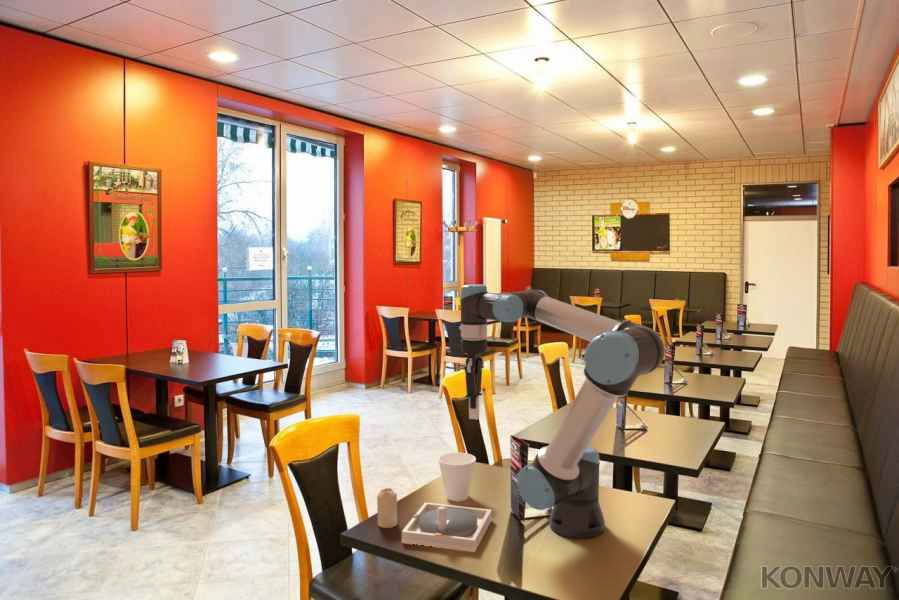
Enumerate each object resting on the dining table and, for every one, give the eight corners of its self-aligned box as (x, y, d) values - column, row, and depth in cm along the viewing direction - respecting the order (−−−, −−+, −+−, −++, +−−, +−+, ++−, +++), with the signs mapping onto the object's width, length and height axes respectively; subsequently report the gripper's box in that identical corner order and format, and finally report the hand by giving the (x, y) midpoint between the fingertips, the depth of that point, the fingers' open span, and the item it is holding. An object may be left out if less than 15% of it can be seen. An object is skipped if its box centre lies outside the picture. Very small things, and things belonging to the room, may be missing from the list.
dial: (428, 512, 194) (428, 485, 193) (482, 517, 190) (482, 490, 189) (412, 536, 178) (411, 507, 178) (470, 542, 175) (470, 513, 174)
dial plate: (491, 520, 191) (491, 508, 191) (474, 552, 172) (474, 539, 172) (425, 512, 197) (425, 501, 196) (401, 543, 178) (401, 530, 177)
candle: (394, 529, 186) (393, 494, 185) (375, 527, 187) (374, 493, 186) (399, 520, 191) (398, 487, 190) (381, 519, 193) (380, 485, 192)
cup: (476, 504, 202) (476, 464, 201) (437, 504, 203) (437, 465, 201) (475, 489, 214) (475, 452, 213) (438, 489, 214) (438, 452, 213)
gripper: (466, 334, 199) (467, 411, 201) (455, 341, 186) (455, 423, 189) (491, 335, 197) (491, 413, 199) (481, 342, 184) (481, 425, 187)
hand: (474, 418), depth 194 cm, fingers closed
